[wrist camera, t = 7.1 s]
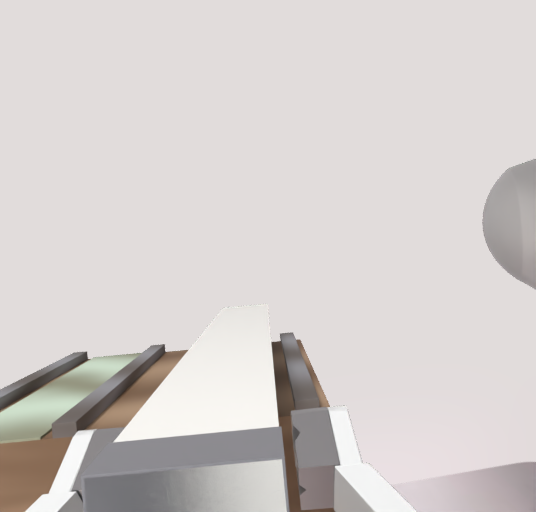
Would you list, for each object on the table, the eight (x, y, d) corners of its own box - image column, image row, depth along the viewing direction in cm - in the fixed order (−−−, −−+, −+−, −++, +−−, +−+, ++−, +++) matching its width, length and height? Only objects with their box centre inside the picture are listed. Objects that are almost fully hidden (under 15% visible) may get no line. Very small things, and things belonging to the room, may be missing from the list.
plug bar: (300, 631, 7) (284, 456, 7) (96, 652, 7) (80, 475, 7) (271, 342, 30) (268, 303, 30) (225, 347, 30) (222, 307, 30)
